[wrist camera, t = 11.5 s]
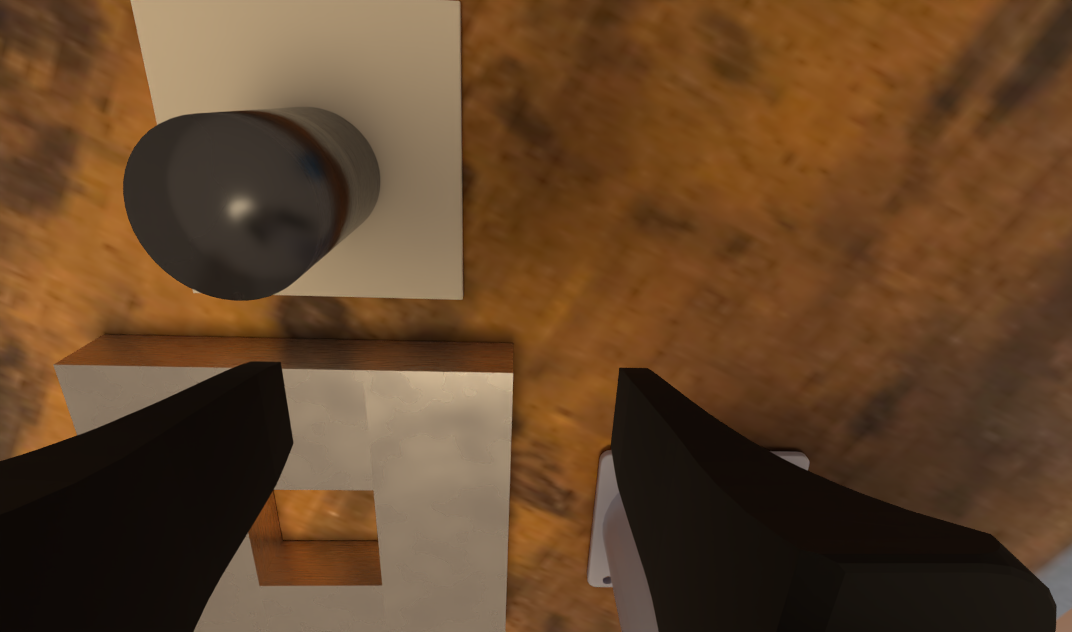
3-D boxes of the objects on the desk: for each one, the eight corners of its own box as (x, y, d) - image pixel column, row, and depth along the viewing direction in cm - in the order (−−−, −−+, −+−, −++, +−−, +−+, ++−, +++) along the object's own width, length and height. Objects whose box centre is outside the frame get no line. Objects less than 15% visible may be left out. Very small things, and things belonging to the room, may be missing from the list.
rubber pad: (460, 2, 17) (459, 1, 17) (463, 296, 21) (462, 299, 21) (135, -15, 17) (126, -18, 16) (199, 289, 21) (193, 292, 20)
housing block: (513, 343, 22) (513, 373, 20) (504, 620, 28) (504, 667, 26) (103, 334, 21) (53, 364, 19) (187, 622, 27) (157, 671, 25)
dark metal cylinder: (378, 112, 18) (311, 121, 12) (381, 241, 20) (325, 306, 14) (242, 101, 18) (104, 105, 12) (257, 232, 19) (143, 295, 13)
